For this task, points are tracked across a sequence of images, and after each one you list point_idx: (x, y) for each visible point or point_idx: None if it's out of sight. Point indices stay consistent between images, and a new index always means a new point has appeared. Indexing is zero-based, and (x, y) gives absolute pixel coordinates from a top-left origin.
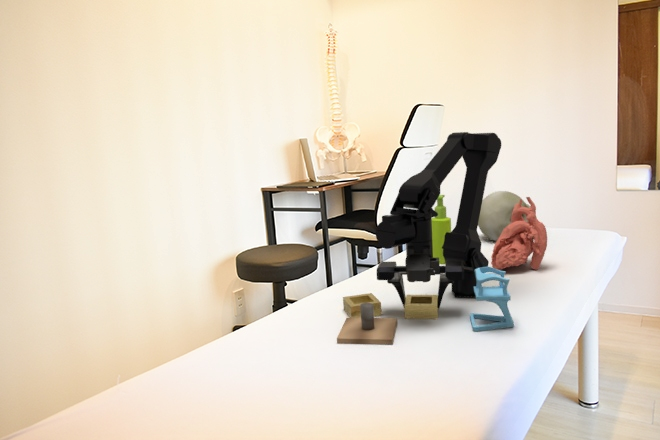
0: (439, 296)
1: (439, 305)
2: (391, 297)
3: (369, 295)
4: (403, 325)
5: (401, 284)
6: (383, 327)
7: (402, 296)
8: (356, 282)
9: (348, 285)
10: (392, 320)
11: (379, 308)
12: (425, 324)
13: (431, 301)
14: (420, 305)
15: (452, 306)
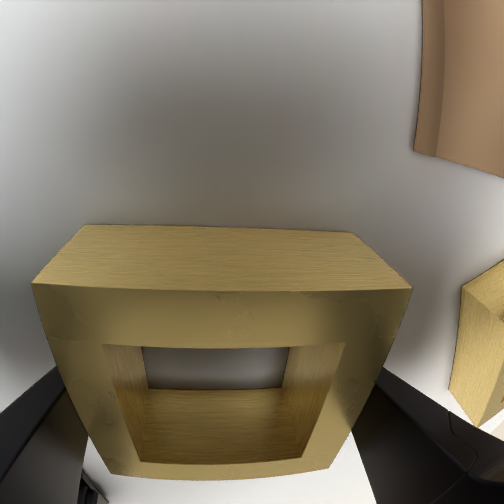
0: (27, 419)
1: None
2: (351, 462)
3: (498, 403)
4: (375, 91)
5: (499, 496)
6: (496, 18)
7: (416, 410)
8: None
9: None
10: (463, 117)
11: (495, 303)
12: (186, 95)
13: (148, 431)
14: (233, 293)
15: None
